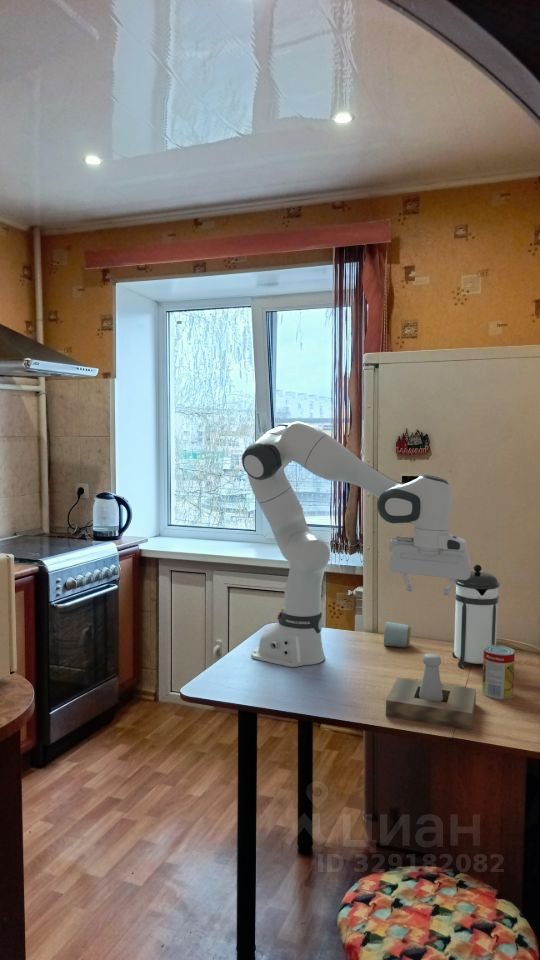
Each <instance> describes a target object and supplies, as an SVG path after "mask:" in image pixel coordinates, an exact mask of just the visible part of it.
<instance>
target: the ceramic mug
mask: <svg viewBox="0 0 540 960" xmlns="http://www.w3.org/2000/svg"><path fill="white" fill-rule="evenodd" d="M411 631H412V629H411V626H410V625H407V624H404V623H396V622H392V621H386V622H385V625H384V634H383V646H385V647H386V646H387V647H397V648H404V649H405V648H408V647H410V644H411V634H412V633H411Z"/></svg>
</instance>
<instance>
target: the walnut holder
mask: <svg viewBox="0 0 540 960" xmlns="http://www.w3.org/2000/svg"><path fill="white" fill-rule="evenodd" d="M421 684H422V680H416V679H415V680H414V679H409V678H408V679H407V678H403V677H402V678H401V677H397V678H396V680H395V681H394V684H393V686H392V688H391V690H390V691H389V693H388V696H387V698H386V699H385V716H386V717H389V718H394V719H396V718H397V719H401V720H407V721H412V722H413V721H414V722H419V723H427V724H433V725H438V726H444V727H445V726H446V727H451V728H458V729H464V730H470V731H471V730H472V727H473V721H474V715H475V708H476V702H477V701H476V700H477V699H476V698H477V688H473V687H466V686H458V685H451V684H444V683H441V688H442V695H443V701H442V702H438V701H432V700H425V699H420V698H419V693H420V688H421Z"/></svg>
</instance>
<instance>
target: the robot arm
mask: <svg viewBox="0 0 540 960" xmlns="http://www.w3.org/2000/svg"><path fill="white" fill-rule="evenodd" d="M292 462H294V463H297V464H298V465H300V466H301V467H303V468H304V469H305V470H307V472H308V471H309V472H310V473H311V474H313V475H315V476H317V477H320V478H322V479H324V480H327V481H331V482H342V483H349V484H352V485H354V486H355V485H356V486H357V487H360V488H362V489H363V490H365V491H366V492H368V493H370V494H371V495H373V496H375V497H377V498H378V499H377V505H376V506H377V507H376V508H377V511H378V512H377V513H378V514H379V516H380V517H381V518H382V519H383V520H384V521H385V522H387V523H390V524H393V525H401V524H406V523H412V524H413V535H412V536H413V537H408V536H407V537H404V536H403V537H401V536H395V537H394V538H392V539H390V541H389V549H388V550H389V551H390V557H389V563H388V570H389V571H390V572H391V573H398V574H402V576H401V577H402V580H403V582H404V584H405V591H406V592H413V586H414V584H413V583H411V582H410V581H409V577H410V575H414V576H415V575H416V576H425V577H432V578H433V577H434V578H441V579H442V578H443V579H448V582H449V583H450V584H449V585H448V586H447V587H444V588H443V596H447V597H450V595H451V589H452V588H453V586H454V585H456V584H455V580H456V579H460V580H467V579H468V578H469V577H470V572H471V558H470V554H469V551H468V550H467V546H468V541H467V540H466V539H465V538H462V537H459V536H457V535H455V534H452V533H450V523H449V517H450V515H451V511H452V510H451V508H452V493H451V491H452V490H451V487H450V484H449V482H448V481H447V480H446V479H444V478H441V477H439V476H435V475H429V474H422V475H419V476H418V477H417V478H415V479H412V480H411V481H409V482H406V483H405V482H401V481H397V480H394V479H392V478H391V477H389V476H387V475H386V474H384V473H382V472H380V471H379V470H377V469H375V468H374V467H372V466H370V465H368V464H367V463H366V462H364V461H362V459H361V458H359V457H358V456H356V455H355V454H354V453H353V452H351V451H350V450H349V449H348V448H347V447H346V446H344V445H343V444H342V443H341V442H339V441H338V440H336V438H334V437H332V436H331V435H329V434H327V433H325V432H324V431H323V430H321V429H319V428H316V427H314V426H312V425H310V424H308V423H305V422H302V421H294V422H284V423H281V424H279V425H277V426H275V427H274V428H272V429H270V430H268V431H266V432H265V433H264V434H262V435H261V436H260V437H259V438H258V439H257V440H255V442H253V443H251V444H249V446H248V447H246V448H245V450H244V452H243V453H242V456H241V463H242V467H243V470H244V471H245V472H246V474H247V478H248V481H249V484H250V488H251V491H252V492H253V494H254V497H255V499H256V501H257V503H258V505H259V506H260V509H261V510H262V512H263V514H264V516H265V518H266V520H267V522H268V524H269V526H270V528H271V529H270V530H271V531H272V533H273V536H274V539H275V542H276V543H277V546H278V549H279V551H280V552H281V554H282V556H283V558H284V559H285V560H287V561H288V563H289V571H288V577H287V580H286V583H285V585H284V605H283V606H284V607H282V609H281V610H280V612H278V614H277V615H276V620H277V621H278V622H277V623H275V624H274V625H273V626H271V627H270V628H269V629H267V630H266V631H264V632H263V633H262V634H261V637H260V640H259V643H258V645H256V647H254V648H253V649H252V651H251V655H250V656H251V658H252V659H255V660H258V661H264V662H268V663H272V664H277V665H281V666H285V667H290V668H296V667H297V668H298V667H300V666H309V665H316V664H319V663H321V662H323V661H325V659H326V656H325V652H324V647H323V642H322V640H323V639H322V629H323V614H322V613H323V612H322V611H321V603H322V586H323V580H324V575H325V570H326V567H327V565H328V564H329V561H330V558H331V551H330V549H329V547H328V544H327V543H326V541H324V539H323V538H322V537H321V536H319V535H317V534H314V533H313V532H312V530H311V529H310V527H309V526H308V524H307V521H306V517H305V514H304V509H303V508H304V507H303V506H302V505H301V502H300V499H298V496H297V495H296V492H295V490H294V489H293V486H292V485H291V483H290V480H289V479H288V478H287V476H286V473H285V468H286V467H288V465H289V464H290V463H292Z"/></svg>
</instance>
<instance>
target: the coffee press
mask: <svg viewBox="0 0 540 960" xmlns="http://www.w3.org/2000/svg"><path fill="white" fill-rule="evenodd" d="M473 570H474V571H473ZM473 570H472V571H471V572H470V577H469V578H468V579H467V580H460V579H456V580H455V584H454V585H455V592H454V599H455V608H454V609H455V610H454V611H455V612H454V613H455V614H454V641H453V642H454V643H453V646H454V647H453V649H454V650H453V652H452V657H453V658H457V659H459V661H458V662H457V666H458V668H461V669H464V668H465V667H466V665H467V664H468V663H470V664H476V665H478V664H479V665H483V650H484V647H485V646H488V645H497V629H498V605H499V604H498V603H499V599H500V596H499V588H500V585H501V584H500V582H499V580H498V578H497V577H496V576H495V575H493V574H492V573H488V572H485V571H482V566H481V565H480V564H475V565H474V566H473Z"/></svg>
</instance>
